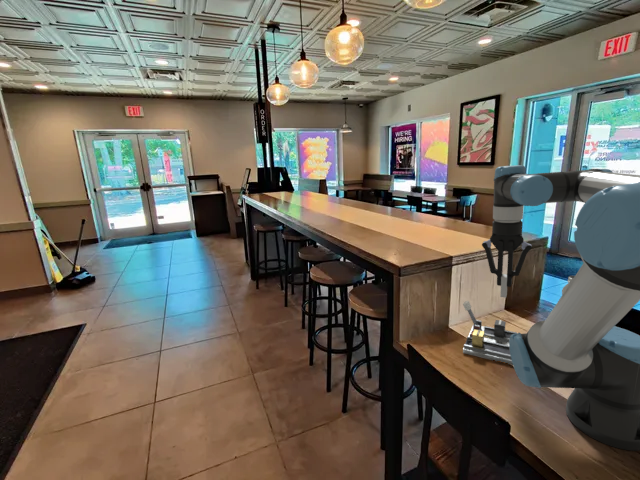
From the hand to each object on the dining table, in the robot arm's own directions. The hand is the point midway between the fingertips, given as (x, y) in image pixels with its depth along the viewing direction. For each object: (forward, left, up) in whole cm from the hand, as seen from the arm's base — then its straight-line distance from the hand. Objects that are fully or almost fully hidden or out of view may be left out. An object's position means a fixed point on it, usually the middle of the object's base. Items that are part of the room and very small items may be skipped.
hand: (503, 295), depth 97 cm
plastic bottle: (+26, -19, -21) cm, 38 cm away
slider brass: (0, +7, -19) cm, 20 cm away
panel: (+5, +3, -21) cm, 21 cm away
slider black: (+10, +1, -19) cm, 21 cm away
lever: (+10, +8, -18) cm, 22 cm away
